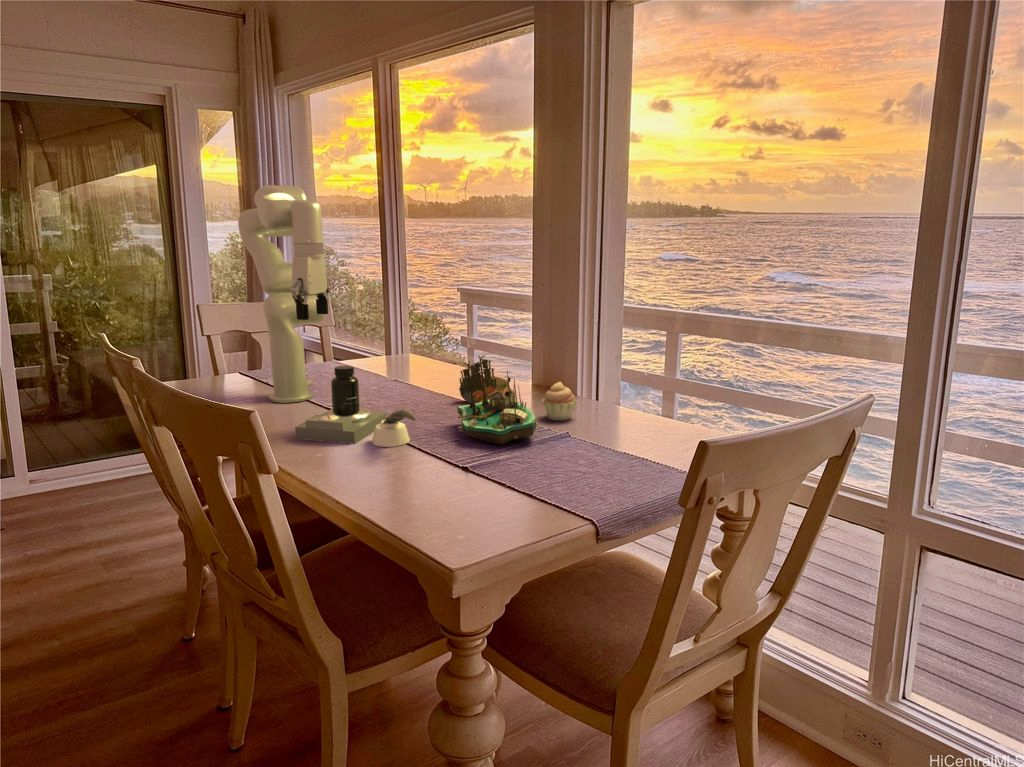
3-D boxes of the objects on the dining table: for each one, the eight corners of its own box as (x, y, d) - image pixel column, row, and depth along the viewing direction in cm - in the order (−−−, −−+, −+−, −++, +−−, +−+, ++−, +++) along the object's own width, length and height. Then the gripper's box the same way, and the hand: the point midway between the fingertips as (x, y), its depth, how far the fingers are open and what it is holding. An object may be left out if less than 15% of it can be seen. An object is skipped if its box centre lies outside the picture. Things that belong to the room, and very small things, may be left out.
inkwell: (398, 433, 181) (396, 395, 179) (436, 451, 167) (435, 409, 165) (365, 440, 175) (362, 401, 173) (401, 459, 161) (399, 416, 159)
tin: (459, 402, 211) (459, 374, 209) (464, 400, 213) (463, 372, 212) (507, 407, 205) (507, 378, 203) (511, 404, 208) (511, 376, 206)
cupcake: (583, 417, 194) (584, 381, 191) (561, 424, 187) (562, 387, 185) (557, 411, 200) (557, 376, 198) (534, 418, 193) (534, 382, 191)
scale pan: (337, 409, 192) (337, 405, 192) (378, 412, 189) (378, 408, 189) (314, 421, 181) (313, 417, 181) (357, 424, 178) (357, 420, 178)
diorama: (504, 414, 195) (497, 346, 190) (553, 439, 174) (546, 363, 168) (440, 431, 187) (431, 360, 182) (483, 460, 166) (474, 380, 160)
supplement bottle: (353, 417, 181) (350, 370, 178) (328, 415, 182) (325, 369, 180) (364, 410, 188) (361, 364, 185) (339, 408, 189) (337, 364, 186)
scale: (332, 419, 194) (331, 399, 193) (387, 423, 190) (386, 403, 189) (296, 438, 177) (294, 417, 176) (354, 443, 173) (353, 421, 172)
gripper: (313, 248, 193) (317, 311, 198) (276, 252, 177) (281, 321, 181) (338, 248, 192) (342, 312, 196) (303, 252, 175) (308, 322, 180)
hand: (313, 316), depth 189 cm, fingers open, 9 cm apart
